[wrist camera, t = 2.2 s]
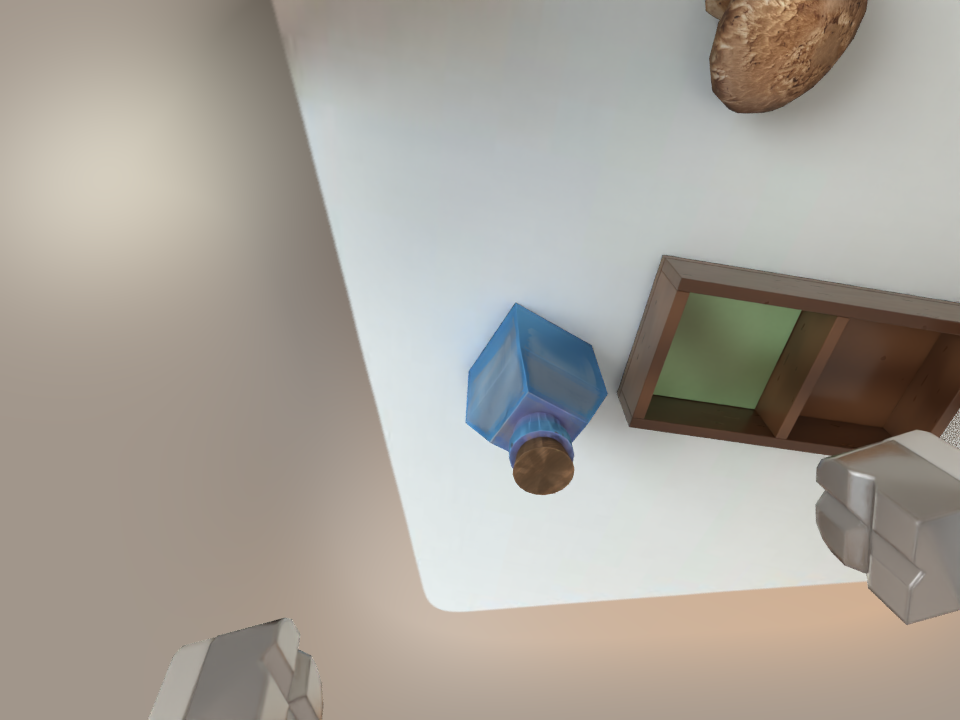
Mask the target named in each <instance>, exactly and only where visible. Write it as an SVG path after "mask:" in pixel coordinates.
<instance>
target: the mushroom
mask: <svg viewBox="0 0 960 720" xmlns="http://www.w3.org/2000/svg"><path fill="white" fill-rule="evenodd" d="M867 1H868V0H706V1H705V5H706V11H707V12H708V13H709V14H711V15H712V16H714V17H715V18H717V19H719V20H720V21H719V23H718V27H717V31H716V35H715V38H714V42H713V46H712V50H711V54H710V58H709V61H710V73H711V84H712V91H713V92H714V94H715V95H716V96H717V97H718V98H719V99H720V100H721V101H722V102H723V103H724V104H725V105H726V107H727V108H728V109H730V110H732V111H734V112H736V113H764V112H769V111H773V110H775V109H778V108H780V107H783V106H784V105H786V104H788V103H789V102H791V101H793V100H794V99H796V98H798V97H799V96H801V95H802V94H804V93H805V92H807V91H808V90H810V89H811V88H813V87H814V86H815V85H816V84H817V83H818V82H819V81H820V80H821V79H822V78H823V77H824V76H825V75H826V74H827V73H828V72H829V70H830V69H831V68H832V67H833V65H834V64H835V63H836V62H837V60H838V59H839V58H840V56H841V55H842V54H843V53H844V51H845V50H846V48H847V47H848V46H849V44H850V43H851V42H852V40H853V39H854V37H855V34H856V32H857V30H858V28H859V26H860V23H861V21H862V19H863V17H864V14H865V12H866V8H867Z"/></svg>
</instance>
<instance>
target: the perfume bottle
mask: <svg viewBox="0 0 960 720" xmlns="http://www.w3.org/2000/svg"><path fill="white" fill-rule="evenodd" d="M607 394H608V393H607V390H606V387H605V384H604V381H603V378H602V375H601V372H600V369H599V366H598V363H597V360H596V357H595V354H594V351H593V348H592V345H590V344H588V343H586V342H584V341H583V340H581V339H579V338H577V337H576V336H574V335H572V334H570V333H568V332H567V331H565V330H563V329H561V328H560V327H558V326H556V325H554V324H552V323H551V322H549V321H547V320H545V319H544V318H542V317H540V316H538V315H536V314H535V313H533V312H531V311H529V310H528V309H526V308H524V307H522V306H520V305H519V304H517V303H515V304H514V306H513V307H512V309H511V310H510V312H509V313H508V315H507V316H506V318H505V319H504V321H503V322H502V324H501V325H500V326H499V328H498V329H497V331H496V332H495V334H494V335H493V337H492V338H491V340H490V341H489V343H488V344H487V346H486V347H485V349H484V350H483V352H482V353H481V354H480V356H479V357H478V359H477V360H476V362H475V363H474V365H473V366H472V368H471V369H470V371H469V376H468V392H467V408H466V423H467V424H468V425H469V426H470V427H472V428H473V429H474V430H475V431H477V432H478V433H479V434H480V435H481V436H483V437H484V438H485V439H486V440H488V441H489V442H490V443H492V444H494V445H496V446H498V447H500V448H502V449H504V450H506V451H508V452H509V459H510V463H511V466H512V468H513V476H514V479H515V482H516V483H517V484H518V485H519V487H520V488H522V489H523V490H525V491H526V492H529V493H532V494H536V495H547V494H553V493H556V492H558V491H560V490H562V489H563V488H565V487H566V486H567V485H568V484H569V483H570V481H571V480H572V478H573V475H574V466H573V458H574V452H573V447H572V442H573V441H574V440H575V438H576V437H577V436H578V435H579V434H580V432H581V431H582V430H583V429H584V428H585V427H586V425H587V424H588V423H589V421H590V420H591V418H592V417H593V415H594V414H595V412H596V411H597V409H598V408H599V406H600V405H601V403H602V402H603V400H604V399H605V397H606V396H607Z"/></svg>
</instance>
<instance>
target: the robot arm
mask: <svg viewBox="0 0 960 720" xmlns="http://www.w3.org/2000/svg"><path fill="white" fill-rule="evenodd" d="M816 482H817V483H818V484H819V485H820V486H821V487H823V488H824V489H825V491H824V493H823V494H822V496H821V497H820V499H819V500H818V502H817V503H816V523H817V526H818V528H819V531H820V534H821V536H822V539H823V541H824V542H825V543H826V545H827V546H828V548H829V549H830V551H831V552H832V553H833V554H834V555H835V556H836V557H837V558H838V559H839V560H840V561H841V562H842V563H843V564H844V565H845V566H848V567H850V568H853V569H856V570H858V571H861V572H863V573H866V576H867V583H868V589H870V590H871V591H872V592H873V593H874V594H875V595H876V596H877V597H878V598H879V599H880V600H881V601H882V602H883V603H884V604H885V605H886V606H887V607H888V608H889V609H890V610H891V611H892V612H894V613H895V614H896V615H897V616H898V617H899V618H900V619H901V620H902V621H903V622H904V623H905V624H906V625H908V624H911V623H915V622H919V621H923V620H926V619H929V618H933V617H937V616H940V615H944V614H947V613H951V612H954V611H958V610H960V449H958V448H956V447H955V446H953V445H951V444H949V443H948V442H946V441H944V440H942V439H940V438H939V437H937V436H935V435H933V434H932V433H930V432H926V431H921V430H914V431H911V432H907V433H904V434H901V435H898V436H895V437H891V438H888V439H885V440H884V441H880V442H876V443H873V444H870V445H866V446H863V447H860V448H856V449H853V450H850V451H847V452H843V453H840V454H837V455H833V456H830V457H827V458H824V459H821V461H820V463H819V465H818V466H817V472H816ZM299 640H300V633H299V631H298V630H297V628H296V626H295V624H294V623H293V621H292V619H289V618H282V619H278V620H275V621H271V622H267V623H263V624H260V625H256V626H252V627H248V628H245V629H241V630H237V631H234V632H230V633H226V634H223V635H219V636H217V637H215V638H211V639H207V640H203V641H200V642H196V643H192V644H188V645H184V646H182V647H181V648H180V649H179V651H177V652H176V653H175V655H174V656H173V658H172V661H171V663H170V666H169V668H168V671H167V673H166V676H165V678H164V681H163V683H162V686H161V689H160V691H159V693H158V696H157V698H156V701H155V704H154V706H153V708H152V711H151V713H150V716H149V719H148V720H322V715H323V696H322V684H321V680H320V676H319V673H318V669H317V666H316V664H315V662H314V660H313V658H312V656H311V655H309V654H307V653H305V652H303V651H301V650H298V646H299Z"/></svg>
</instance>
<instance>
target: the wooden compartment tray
mask: <svg viewBox="0 0 960 720" xmlns="http://www.w3.org/2000/svg"><path fill="white" fill-rule="evenodd" d="M617 395H618V398H619V400H620V403H621V406H622V409H623V411H624V414H625V417H626V420H627V422H628V425H629V427H633V428H640V429H647V430H654V431H661V432H668V433H675V434H682V435H689V436H696V437H703V438H710V439H717V440H724V441H732V442H739V443H746V444H753V445H760V446H767V447H774V448H781V449H788V450H795V451H802V452H809V453H816V454H823V455H830V456H833V455H837V454H840V453H843V452H847V451H850V450H853V449H856V448H860V447H863V446H866V445H870V444H873V443H876V442H880V441H884V440H885V439H888V438H891V437H895V436H898V435H901V434H904V433H907V432H911V431H914V430H921V431H926V432H930V433H932V434H933V435H935V436H937V437H939V438H940V436H941V435H942V433H943V432H944V430H945V429H946V427H947V426H948V424H949V423H950V422H951V420H952V419H953V417H954V416H955V414H956V413H957V411H958V410H959V408H960V303H955V302H949V301H943V300H937V299H931V298H925V297H919V296H912V295H906V294H900V293H894V292H888V291H882V290H876V289H869V288H863V287H857V286H851V285H845V284H839V283H833V282H826V281H820V280H814V279H808V278H802V277H796V276H790V275H783V274H777V273H771V272H765V271H759V270H753V269H747V268H740V267H734V266H728V265H722V264H716V263H710V262H704V261H697V260H691V259H685V258H679V257H673V256H667V255H663V256H662V259H661V262H660V265H659V268H658V271H657V274H656V277H655V280H654V283H653V286H652V289H651V292H650V296H649V299H648V302H647V305H646V308H645V311H644V314H643V317H642V320H641V323H640V326H639V329H638V332H637V335H636V338H635V341H634V344H633V347H632V350H631V353H630V356H629V359H628V362H627V365H626V368H625V371H624V374H623V377H622V380H621V383H620V386H619V389H618V393H617Z"/></svg>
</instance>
